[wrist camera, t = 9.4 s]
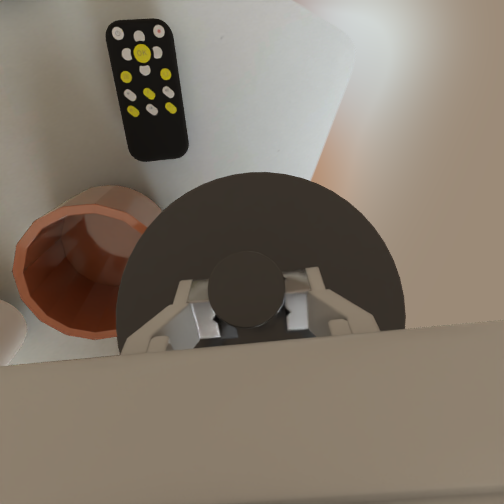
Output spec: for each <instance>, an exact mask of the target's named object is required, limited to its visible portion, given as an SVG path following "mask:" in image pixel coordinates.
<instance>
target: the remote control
mask: <svg viewBox="0 0 504 504" xmlns="http://www.w3.org/2000/svg"><path fill="white" fill-rule="evenodd" d="M106 42H107V47H108V52H109V57H110V62H111V67H112V71H113V76H114V81H115V86H116V91H117V96H118V101H119V106H120V111H121V115H122V120H123V125H124V130H125V135H126V140H127V145H128V149H129V152H130V153H131V155H132V156H133V157H134V158H135V159H137V160H139V161H143V162H147V161H157V160H166V159H176V158H180V157H182V156H183V155H184V154H185V153H186V152H187V150H188V146H189V141H188V135H187V128H186V121H185V114H184V107H183V100H182V93H181V86H180V80H179V73H178V66H177V59H176V52H175V45H174V38H173V34H172V31H171V29H170V27H169V26H168V25H167V24H166V23H165V22H163V21H162V20H159V19H135V20H118V21H114V22H113V23H111V24H110V25H109V26H108V28H107V31H106Z"/></svg>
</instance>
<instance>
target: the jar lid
mask: <svg viewBox="0 0 504 504" xmlns="http://www.w3.org/2000/svg"><path fill="white" fill-rule="evenodd" d="M310 267H318V268H319V271H320V274H321V277H322V280H323V283H324V286H325V289H330V290H331V291H333V292H335V293H336V294H338V295H340V296H341V297H343V298H345V299H346V300H348V301H350V302H351V303H353V304H355V305H356V306H358V307H360V308H361V309H363V310H365V311H366V312H368V313H370V314H371V315H373V317H374V319H375V321H376V323H377V325H378V327H379V330H380V331H389V330H400V329H405V319H406V315H405V303H404V295H403V290H402V285H401V281H400V277H399V275H398V271H397V268H396V266H395V263H394V260H393V258H392V256H391V254H390V252H389V250H388V248H387V246H386V244H385V243H384V241H383V240H382V238H381V237H380V235H379V234H378V232H377V231H376V230H375V228H374V227H373V226H372V224H371V223H370V222H369V221H368V220H367V219H366V218H365V217H364V216H363V214H362V213H360V212H359V211H358V210H357V209H356V208H355V207H354V206H352V205H351V204H350V203H349V202H348V201H346V200H345V199H343V198H342V197H340V196H339V195H337V194H336V193H334V192H333V191H331V190H329V189H327V188H325V187H323V186H321V185H319V184H317V183H314V182H311V181H308V180H306V179H303V178H299V177H295V176H291V175H286V174H279V173H270V172H250V173H243V174H235V175H230V176H227V177H223V178H219V179H216V180H213V181H210V182H208V183H205V184H203V185H200V186H199V187H197V188H195V189H193V190H191V191H189V192H187V193H185V194H184V195H183V196H181V197H180V198H178V199H177V200H175V201H174V202H173V203H171V204H170V205H169V206H168V207H167V208H166V209H165V210H163V211H162V212H161V213H160V214H159V215H158V216H157V217H156V218H155V219H154V221H153V222H152V223H151V224H150V225H149V226H148V227H147V229H146V230H145V232H144V233H143V234H142V236H141V237H140V239H139V240H138V242H137V243H136V245H135V247H134V249H133V251H132V253H131V255H130V257H129V259H128V262H127V264H126V267H125V269H124V272H123V275H122V279H121V283H120V287H119V291H118V297H117V306H116V333H117V340H118V348H119V352H120V354H121V351H122V349H123V347H124V344H125V342H126V340H127V338H128V337H129V336H131V335H132V334H133V333H134V332H136V331H137V330H138V329H139V328H141V327H142V326H143V325H145V324H146V323H147V322H148V321H150V320H151V319H152V318H153V317H155V316H156V315H157V314H158V313H160V312H161V311H162V310H164V309H165V308H166V307H167V306H169V305H173V302H174V298H175V295H176V292H177V288H178V285H179V282H180V281H182V280H193V279H205V278H209V281H208V289H207V292H208V299H209V303H210V306H211V308H212V309H213V311H214V313H215V314H216V315H217V316H218V317H219V318H220V319H221V323H222V329H221V337H215V338H207V339H199V340H200V341H199V342H198V343H197V344H196V346H195V347H194V348H204V347H215V346H226V345H237V344H248V343H259V342H269V341H280V340H291V339H302V338H313V337H316V336H315V335H314V334H313V333H312V332H311V331H310V330H309V329H304V330H290V331H288V330H287V323H286V316H285V309H284V299H285V281H284V277H283V274H282V272H281V271H287V270H296V269H304V268H310Z"/></svg>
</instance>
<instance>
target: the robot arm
mask: <svg viewBox="0 0 504 504" xmlns="http://www.w3.org/2000/svg"><path fill="white" fill-rule="evenodd" d="M281 272H282V274H283V277H284V281H285V299H284V309H285V316H286V323H287V330H288V331H290V330H304V329H309V330H310V331H311V332H312V333H313V334H314V335H315V336H316V337H313V338H302V339H291V340H280V341H269V342H259V343H248V344H237V345H226V346H215V347H204V348H194V347H195V346H196V344H197V343H198V342H199V341H200V340H199V339H207V338H215V337H221V329H222V323H221V319H220V318H219V317H218V316H217V315H216V314H215V313H214V311H213V309H212V308H211V306H210V303H209V299H208V292H207V289H208V281H209V278H205V279H193V280H182V281H180V282H179V285H178V288H177V292H176V295H175V298H174V302H173V305H169V306H167V307H166V308H165V309H164V310H162V311H161V312H160V313H158V314H157V315H156V316H155V317H153V318H152V319H151V320H150V321H148V322H147V323H146V324H145V325H143V326H142V327H141V328H139V329H138V330H137V331H136V332H134V333H133V334H132V335H131V336H129V337H128V338H127V340H126V342H125V344H124V347H123V349H122V351H121V354H120V355H117V356H107V357H96V358H85V359H74V360H63V361H52V362H41V363H31V364H20V365H9V366H0V504H504V320H498V321H487V322H477V323H465V324H454V325H443V326H432V327H422V328H411V329H400V330H389V331H380V330H379V327H378V325H377V323H376V321H375V319H374V317H373V315H371V314H370V313H368V312H366V311H365V310H363V309H361V308H360V307H358V306H356V305H355V304H353V303H351V302H350V301H348V300H346V299H345V298H343V297H341V296H340V295H338V294H336V293H335V292H333V291H331V290H330V289H325V286H324V283H323V280H322V277H321V274H320V271H319V268H318V267H310V268H304V269H296V270H287V271H281Z"/></svg>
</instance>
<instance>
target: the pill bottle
mask: <svg viewBox="0 0 504 504" xmlns="http://www.w3.org/2000/svg"><path fill="white" fill-rule="evenodd" d="M26 335H27V324H26V321H25V319H24V317H23V315H22V314H21V313H20V312H19V310H18V309H16V308H15V307H14V306H12V305H11V304H9V303H7V302H5V301H3V300H0V366H7V365H8V364H9V363H10V361H11V360H12V359H13V357H14V356H15V354H16V353H17V352H18V350H19V349H20V348H21V346H22V344H23V343H24V341H25V338H26Z"/></svg>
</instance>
